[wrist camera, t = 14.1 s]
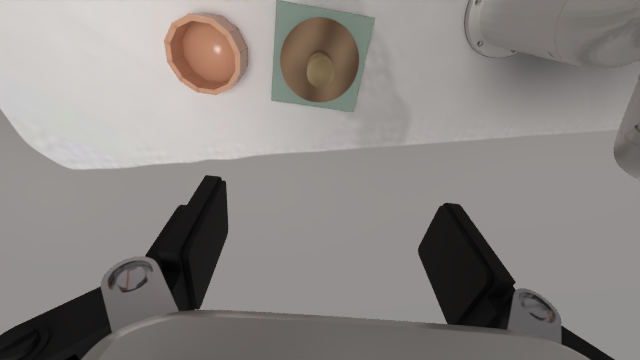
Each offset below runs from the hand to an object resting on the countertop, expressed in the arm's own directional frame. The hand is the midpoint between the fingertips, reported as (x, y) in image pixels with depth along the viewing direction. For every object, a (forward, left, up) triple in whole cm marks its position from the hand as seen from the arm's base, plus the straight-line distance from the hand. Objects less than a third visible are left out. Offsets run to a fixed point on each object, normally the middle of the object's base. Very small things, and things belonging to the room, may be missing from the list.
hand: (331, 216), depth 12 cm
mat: (0, 0, -36) cm, 36 cm away
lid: (0, 0, -36) cm, 36 cm away
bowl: (+16, +1, -36) cm, 40 cm away
